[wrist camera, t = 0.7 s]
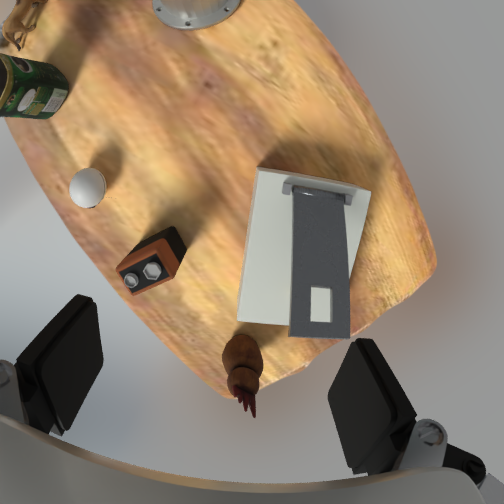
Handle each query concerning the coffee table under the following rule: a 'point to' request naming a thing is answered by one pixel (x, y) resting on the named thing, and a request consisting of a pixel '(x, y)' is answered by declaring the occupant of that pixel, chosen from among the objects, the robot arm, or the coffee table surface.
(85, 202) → the seamed sphere
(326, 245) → the clasp strap
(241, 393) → the wooden figurine
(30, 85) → the coffee jar
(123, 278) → the battery
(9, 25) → the lion figurine
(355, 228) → the keepsake box
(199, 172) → the coffee table surface
